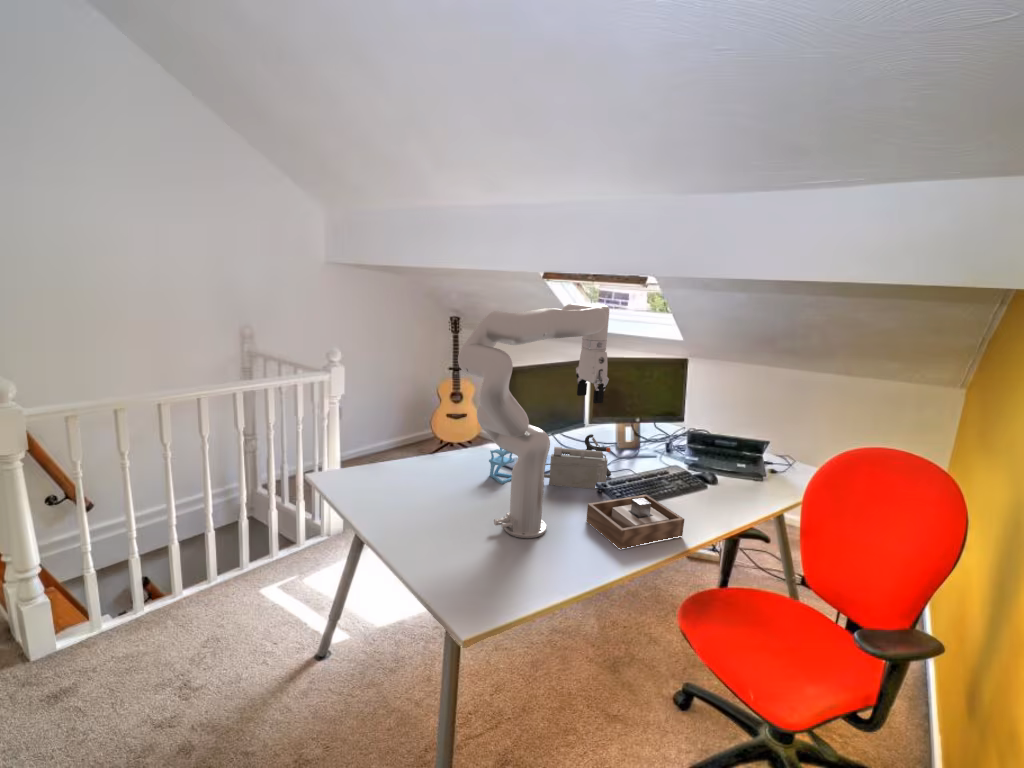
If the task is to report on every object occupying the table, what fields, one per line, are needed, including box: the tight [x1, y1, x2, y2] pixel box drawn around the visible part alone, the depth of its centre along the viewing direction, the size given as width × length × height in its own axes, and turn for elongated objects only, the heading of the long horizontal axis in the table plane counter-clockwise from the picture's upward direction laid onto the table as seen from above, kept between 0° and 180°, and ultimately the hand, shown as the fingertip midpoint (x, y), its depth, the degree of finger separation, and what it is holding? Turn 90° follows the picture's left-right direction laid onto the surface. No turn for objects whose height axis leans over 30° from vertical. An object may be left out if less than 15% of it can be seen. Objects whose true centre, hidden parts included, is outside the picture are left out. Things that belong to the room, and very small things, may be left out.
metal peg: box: [631, 498, 651, 519], centre depth 165 cm, size 4×4×8 cm
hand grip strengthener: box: [584, 433, 612, 478], centre depth 207 cm, size 2×12×15 cm, turn 58°
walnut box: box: [586, 494, 685, 549], centre depth 165 cm, size 22×18×6 cm
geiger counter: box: [544, 446, 608, 489], centre depth 195 cm, size 14×6×25 cm
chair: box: [488, 447, 515, 485], centre depth 199 cm, size 8×8×12 cm
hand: (589, 399), depth 172 cm, fingers open, 9 cm apart
